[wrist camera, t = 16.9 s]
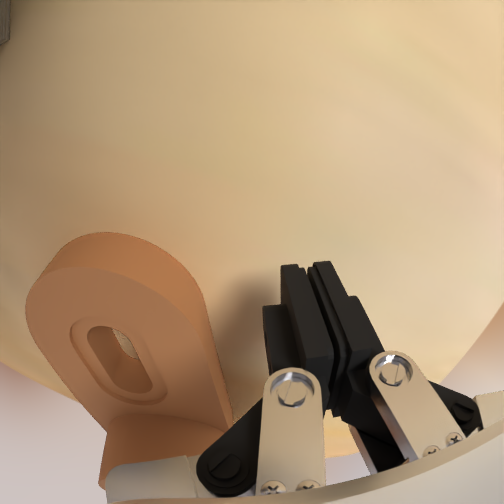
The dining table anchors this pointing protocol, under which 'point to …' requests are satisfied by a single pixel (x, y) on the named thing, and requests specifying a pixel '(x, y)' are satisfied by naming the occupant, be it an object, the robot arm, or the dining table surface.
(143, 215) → the dining table surface
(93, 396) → the bracket
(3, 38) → the collar block
